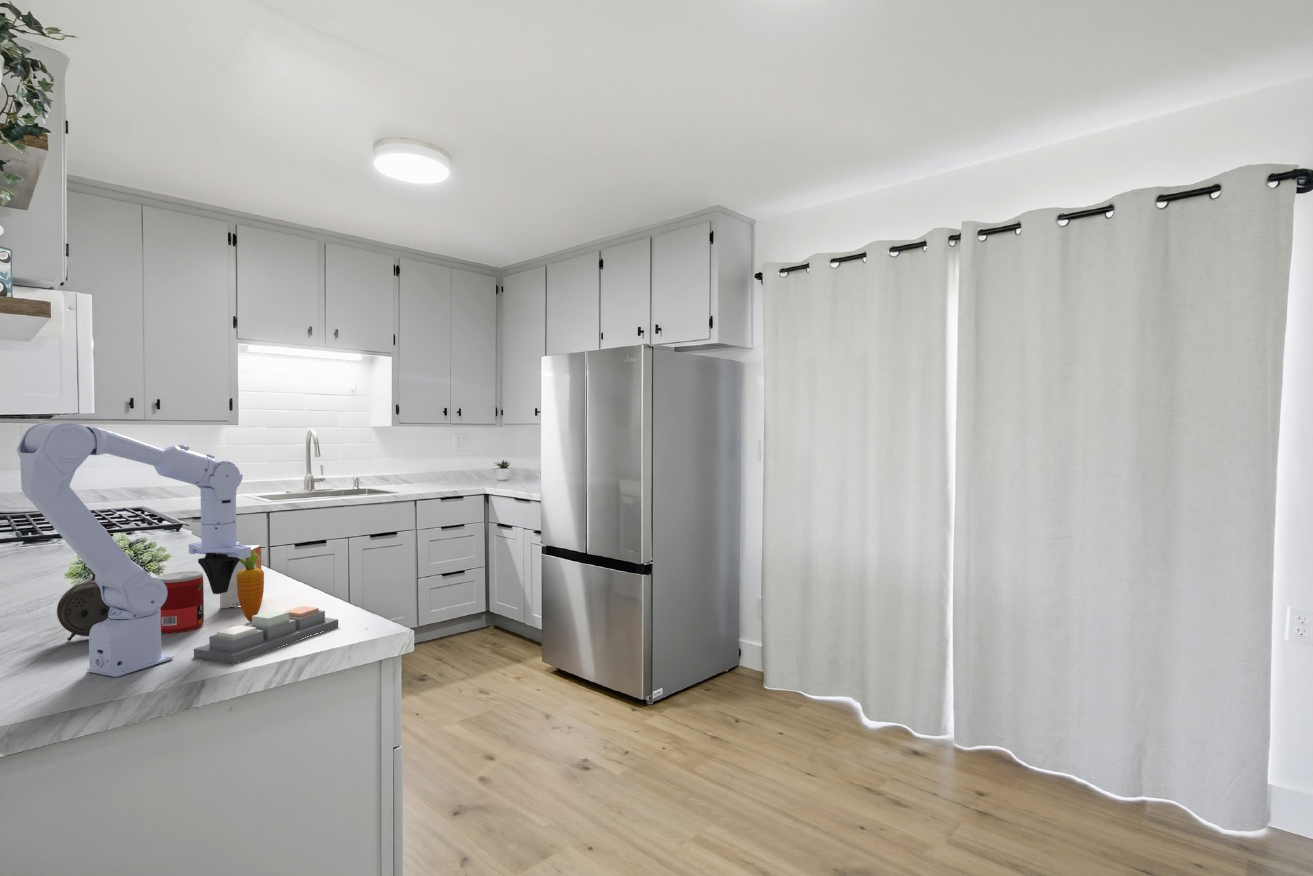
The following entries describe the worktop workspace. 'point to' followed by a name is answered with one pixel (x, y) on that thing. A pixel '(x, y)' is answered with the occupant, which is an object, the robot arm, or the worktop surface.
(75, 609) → the alarm clock
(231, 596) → the small box
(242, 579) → the carrot
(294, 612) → the terracotta key
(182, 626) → the canned food
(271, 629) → the keypad console
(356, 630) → the worktop surface
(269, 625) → the sage key
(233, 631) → the offwhite key
